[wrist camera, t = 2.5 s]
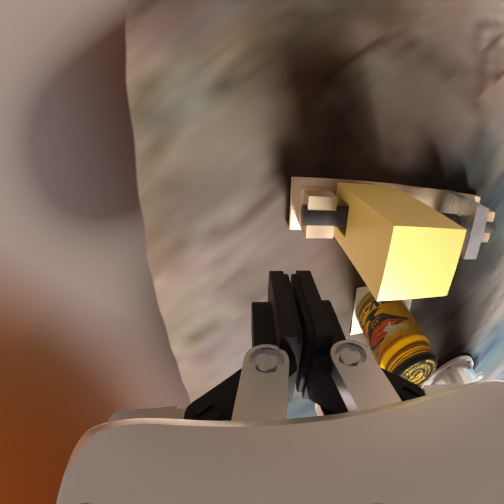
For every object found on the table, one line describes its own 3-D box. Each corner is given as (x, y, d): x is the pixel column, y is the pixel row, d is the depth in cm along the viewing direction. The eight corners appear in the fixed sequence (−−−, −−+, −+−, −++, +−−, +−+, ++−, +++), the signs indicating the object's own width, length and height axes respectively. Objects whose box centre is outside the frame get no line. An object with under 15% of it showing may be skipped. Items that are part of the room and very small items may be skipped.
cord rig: (476, 195, 26) (501, 208, 22) (468, 232, 28) (491, 249, 24) (291, 176, 26) (300, 188, 22) (288, 226, 28) (296, 247, 24)
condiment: (356, 287, 32) (395, 360, 21) (416, 278, 31) (466, 340, 20) (349, 334, 35) (377, 407, 24) (405, 324, 34) (443, 387, 24)
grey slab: (454, 191, 25) (489, 208, 20) (445, 235, 28) (476, 259, 22) (442, 189, 25) (477, 206, 20) (433, 235, 28) (463, 259, 22)
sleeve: (394, 186, 25) (466, 229, 14) (386, 234, 27) (446, 295, 17) (337, 182, 25) (393, 225, 14) (332, 233, 27) (376, 301, 17)
